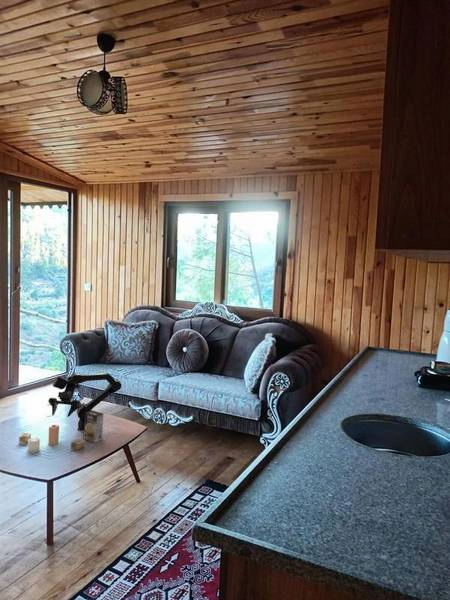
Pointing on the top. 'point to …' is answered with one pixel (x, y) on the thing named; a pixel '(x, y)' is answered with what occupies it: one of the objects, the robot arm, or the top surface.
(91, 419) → the coffee box
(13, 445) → the top surface
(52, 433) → the terracotta brick
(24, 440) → the oak block
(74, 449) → the walnut block
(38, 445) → the cream jar
